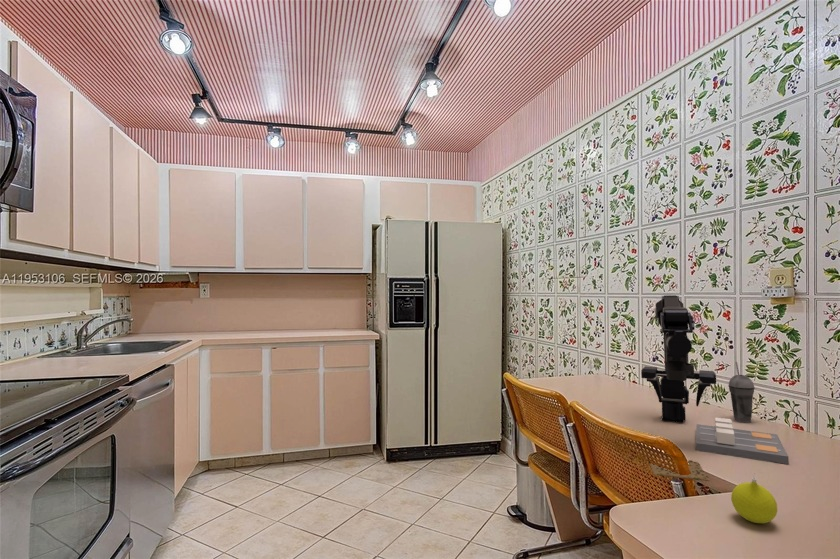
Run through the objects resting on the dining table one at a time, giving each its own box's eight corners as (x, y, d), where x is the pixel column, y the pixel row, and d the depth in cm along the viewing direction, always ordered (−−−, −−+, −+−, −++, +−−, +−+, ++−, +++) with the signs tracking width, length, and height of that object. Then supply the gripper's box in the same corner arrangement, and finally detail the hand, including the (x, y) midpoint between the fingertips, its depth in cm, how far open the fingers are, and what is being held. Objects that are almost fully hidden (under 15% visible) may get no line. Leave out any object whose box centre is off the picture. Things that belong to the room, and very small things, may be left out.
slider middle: (716, 436, 125) (716, 426, 125) (716, 432, 129) (715, 422, 129) (733, 438, 123) (733, 428, 123) (732, 434, 126) (732, 424, 127)
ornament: (753, 532, 80) (751, 477, 80) (723, 513, 87) (721, 462, 87) (788, 529, 81) (786, 475, 81) (755, 510, 88) (753, 461, 88)
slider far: (715, 430, 130) (715, 420, 130) (715, 427, 134) (715, 417, 134) (732, 432, 128) (731, 422, 128) (731, 429, 131) (731, 419, 132)
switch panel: (695, 450, 121) (695, 442, 121) (696, 430, 138) (696, 423, 138) (788, 464, 110) (788, 455, 110) (777, 441, 127) (777, 433, 127)
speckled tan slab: (646, 458, 117) (646, 455, 117) (698, 464, 113) (698, 460, 113) (652, 476, 106) (652, 472, 106) (710, 483, 101) (710, 479, 101)
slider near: (717, 442, 120) (716, 431, 120) (716, 438, 124) (716, 427, 124) (734, 445, 118) (734, 434, 118) (733, 440, 121) (733, 430, 121)
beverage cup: (761, 424, 142) (758, 363, 143) (736, 423, 144) (733, 363, 145) (749, 418, 150) (746, 360, 150) (725, 417, 151) (723, 360, 152)
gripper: (638, 352, 126) (640, 406, 126) (715, 356, 116) (718, 415, 115) (642, 348, 135) (644, 398, 135) (714, 351, 125) (716, 405, 125)
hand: (678, 404), depth 127 cm, fingers open, 9 cm apart
